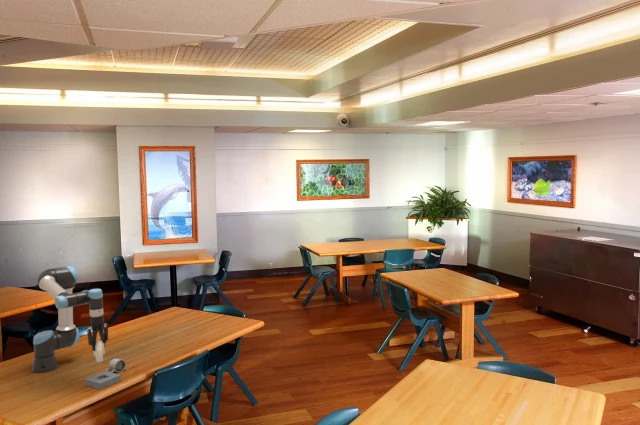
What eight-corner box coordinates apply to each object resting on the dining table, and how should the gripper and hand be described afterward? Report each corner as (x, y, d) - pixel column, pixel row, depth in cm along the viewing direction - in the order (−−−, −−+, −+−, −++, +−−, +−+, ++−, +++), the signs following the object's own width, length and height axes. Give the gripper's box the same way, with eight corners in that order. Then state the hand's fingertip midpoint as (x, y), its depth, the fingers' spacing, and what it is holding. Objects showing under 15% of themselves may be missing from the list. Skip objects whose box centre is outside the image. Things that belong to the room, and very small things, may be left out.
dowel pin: (94, 361, 309) (93, 341, 308) (100, 359, 312) (99, 339, 311) (98, 362, 306) (97, 342, 306) (104, 360, 310) (103, 340, 309)
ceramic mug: (119, 367, 335) (118, 356, 335) (126, 370, 331) (125, 358, 330) (103, 373, 327) (102, 361, 326) (111, 375, 322) (110, 363, 321)
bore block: (85, 384, 309) (84, 378, 308) (105, 376, 320) (105, 371, 320) (100, 389, 301) (99, 383, 301) (120, 380, 313) (120, 375, 313)
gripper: (87, 319, 298) (89, 360, 300) (113, 312, 313) (115, 351, 314) (79, 318, 303) (82, 358, 304) (105, 311, 317) (108, 349, 318)
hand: (99, 354), depth 309 cm, fingers closed on dowel pin, 4 cm apart
